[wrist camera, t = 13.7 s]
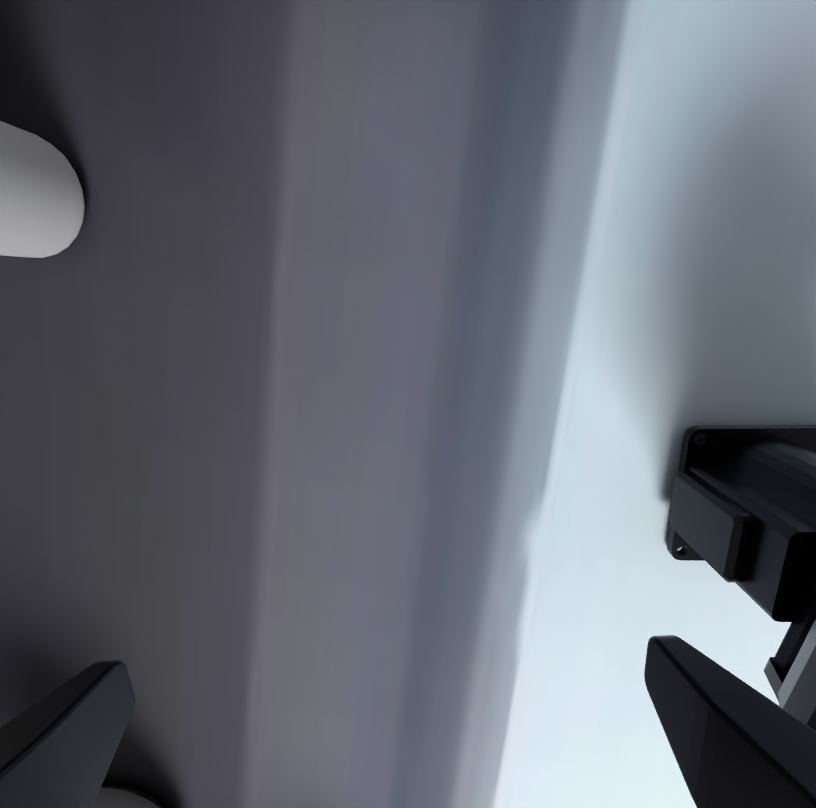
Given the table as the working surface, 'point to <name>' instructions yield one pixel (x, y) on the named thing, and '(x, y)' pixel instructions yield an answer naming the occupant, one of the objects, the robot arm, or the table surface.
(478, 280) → the table surface
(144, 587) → the table surface
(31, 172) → the beverage can
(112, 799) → the smart speaker
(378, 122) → the table surface
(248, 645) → the table surface
